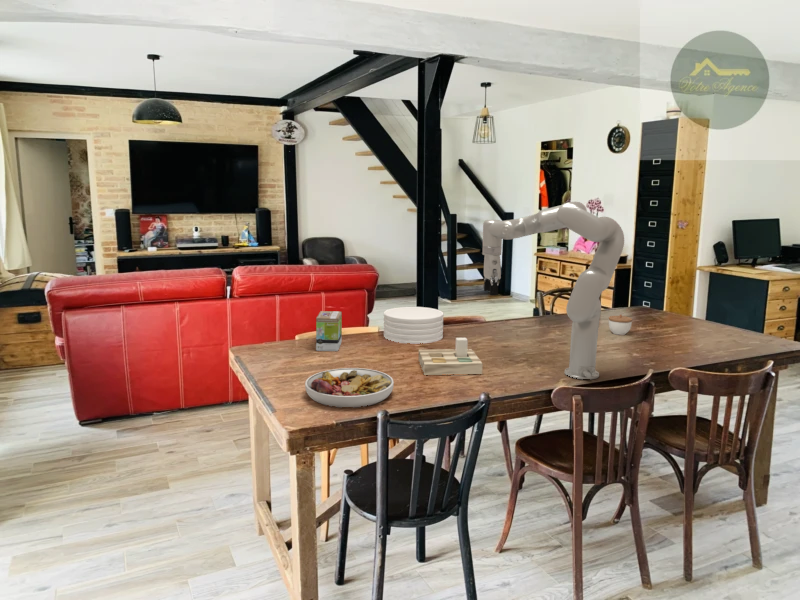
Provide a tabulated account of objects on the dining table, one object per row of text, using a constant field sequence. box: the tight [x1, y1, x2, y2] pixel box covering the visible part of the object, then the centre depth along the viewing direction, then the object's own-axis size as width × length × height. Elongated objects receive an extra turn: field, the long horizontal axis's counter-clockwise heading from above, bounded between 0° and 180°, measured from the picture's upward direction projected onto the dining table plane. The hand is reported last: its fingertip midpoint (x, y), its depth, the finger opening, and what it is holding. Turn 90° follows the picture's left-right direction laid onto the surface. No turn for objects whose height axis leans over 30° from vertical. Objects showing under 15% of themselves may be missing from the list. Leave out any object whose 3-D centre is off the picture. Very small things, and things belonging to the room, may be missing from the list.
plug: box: [455, 337, 469, 357], centre depth 237 cm, size 4×4×10 cm
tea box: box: [315, 310, 343, 352], centre depth 263 cm, size 15×10×15 cm
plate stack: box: [383, 306, 444, 345], centre depth 283 cm, size 28×28×12 cm
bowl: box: [304, 367, 394, 408], centre depth 205 cm, size 30×30×8 cm
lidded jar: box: [608, 314, 633, 336], centre depth 291 cm, size 11×11×9 cm
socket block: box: [418, 348, 483, 376], centre depth 235 cm, size 20×22×5 cm
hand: (490, 293), depth 243 cm, fingers open, 9 cm apart
